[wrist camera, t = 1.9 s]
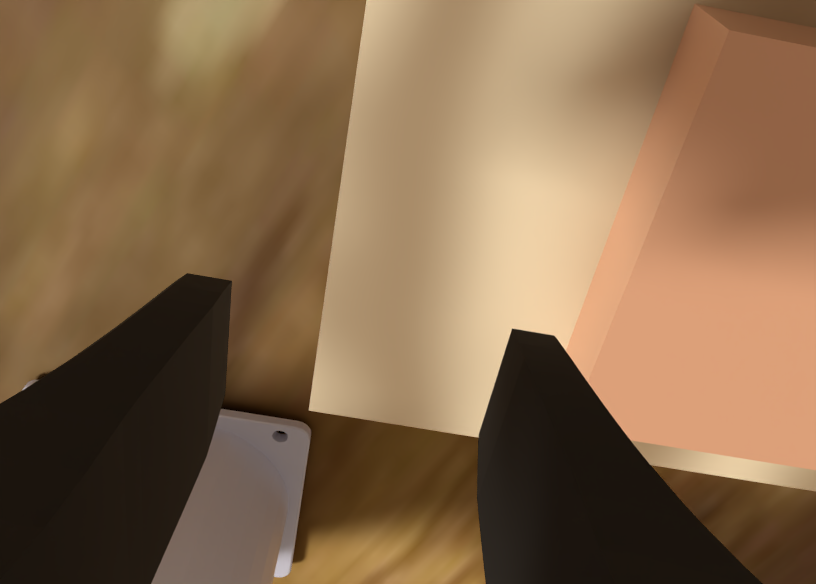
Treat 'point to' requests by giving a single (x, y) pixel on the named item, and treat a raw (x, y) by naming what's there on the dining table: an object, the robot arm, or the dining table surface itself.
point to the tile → (716, 253)
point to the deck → (491, 197)
